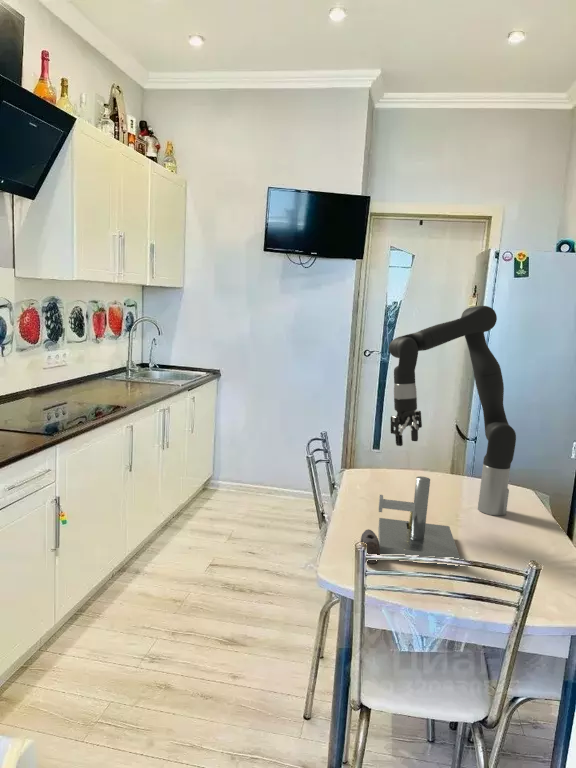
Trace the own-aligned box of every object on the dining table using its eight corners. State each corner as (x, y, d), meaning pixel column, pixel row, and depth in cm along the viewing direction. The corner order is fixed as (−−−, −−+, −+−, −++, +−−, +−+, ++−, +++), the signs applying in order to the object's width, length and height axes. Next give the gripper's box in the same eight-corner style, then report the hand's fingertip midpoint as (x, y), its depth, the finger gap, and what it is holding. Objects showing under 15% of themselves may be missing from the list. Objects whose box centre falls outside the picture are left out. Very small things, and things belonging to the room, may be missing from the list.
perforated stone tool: (358, 543, 166) (359, 521, 165) (375, 545, 165) (377, 523, 164) (360, 566, 151) (362, 542, 150) (379, 568, 151) (382, 544, 150)
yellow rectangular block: (419, 535, 174) (422, 505, 173) (420, 540, 171) (423, 509, 169) (407, 534, 175) (410, 504, 173) (408, 538, 171) (411, 508, 170)
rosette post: (447, 536, 175) (455, 470, 172) (458, 568, 153) (467, 492, 150) (375, 527, 178) (381, 462, 175) (375, 557, 157) (382, 483, 154)
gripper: (408, 393, 193) (410, 438, 195) (383, 398, 184) (385, 445, 186) (426, 394, 188) (428, 440, 189) (401, 399, 178) (403, 448, 180)
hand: (407, 443), depth 187 cm, fingers open, 8 cm apart
